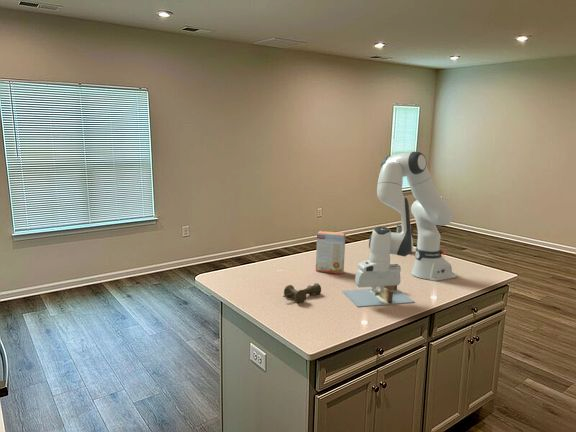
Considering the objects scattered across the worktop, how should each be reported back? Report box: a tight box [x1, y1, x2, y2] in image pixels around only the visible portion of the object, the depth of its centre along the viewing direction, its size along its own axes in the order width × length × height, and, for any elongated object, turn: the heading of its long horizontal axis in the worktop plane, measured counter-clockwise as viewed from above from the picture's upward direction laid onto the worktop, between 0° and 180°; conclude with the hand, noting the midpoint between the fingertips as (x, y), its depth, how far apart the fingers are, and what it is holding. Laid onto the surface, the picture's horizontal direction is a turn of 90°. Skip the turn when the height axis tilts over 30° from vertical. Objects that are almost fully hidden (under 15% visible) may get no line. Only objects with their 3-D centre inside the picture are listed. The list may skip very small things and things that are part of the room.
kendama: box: [282, 282, 322, 304], centre depth 193 cm, size 6×10×20 cm
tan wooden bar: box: [372, 286, 393, 303], centre depth 195 cm, size 16×2×5 cm, turn 19°
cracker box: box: [315, 230, 346, 275], centre depth 228 cm, size 14×6×21 cm, turn 71°
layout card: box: [341, 285, 416, 308], centre depth 196 cm, size 27×18×6 cm, turn 104°
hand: (376, 295), depth 191 cm, fingers closed
